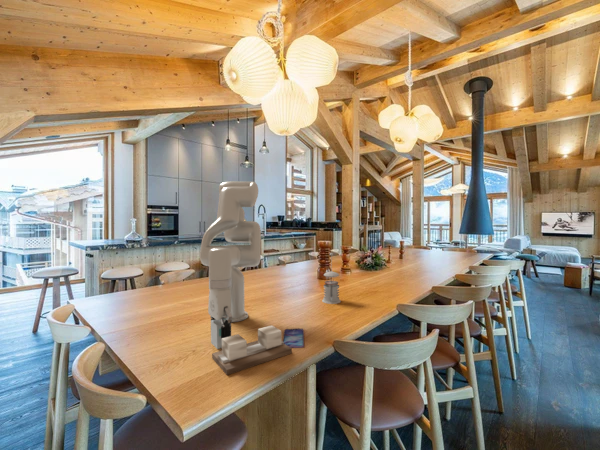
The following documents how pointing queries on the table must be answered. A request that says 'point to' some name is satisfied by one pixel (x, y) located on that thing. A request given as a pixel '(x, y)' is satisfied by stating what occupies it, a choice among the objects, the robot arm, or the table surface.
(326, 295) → the french press
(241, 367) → the rail board
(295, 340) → the smartphone
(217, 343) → the module block
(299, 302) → the table surface
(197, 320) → the table surface
